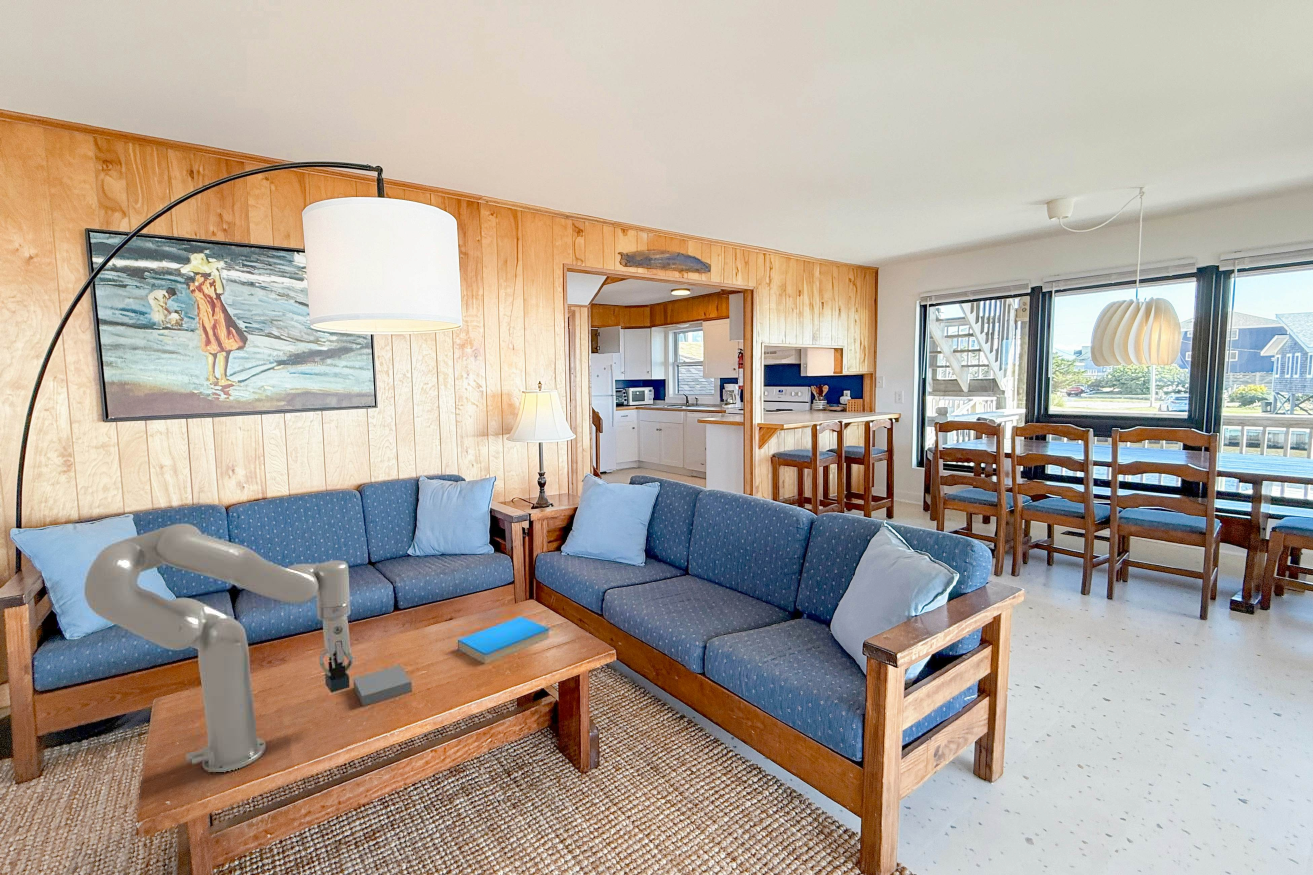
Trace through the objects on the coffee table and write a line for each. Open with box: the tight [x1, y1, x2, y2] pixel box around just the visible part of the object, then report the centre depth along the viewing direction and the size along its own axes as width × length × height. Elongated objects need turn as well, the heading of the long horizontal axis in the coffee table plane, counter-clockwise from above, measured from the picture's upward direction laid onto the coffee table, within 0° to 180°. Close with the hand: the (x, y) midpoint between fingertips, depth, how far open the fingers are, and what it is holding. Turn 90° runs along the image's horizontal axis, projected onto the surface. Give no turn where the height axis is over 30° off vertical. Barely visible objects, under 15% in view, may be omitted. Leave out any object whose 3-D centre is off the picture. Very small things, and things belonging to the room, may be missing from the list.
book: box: [457, 616, 550, 665], centre depth 209 cm, size 17×4×25 cm
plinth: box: [352, 664, 413, 707], centre depth 180 cm, size 13×13×3 cm
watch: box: [319, 648, 355, 693], centre depth 162 cm, size 6×8×11 cm
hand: (337, 677), depth 162 cm, fingers closed on watch, 3 cm apart
